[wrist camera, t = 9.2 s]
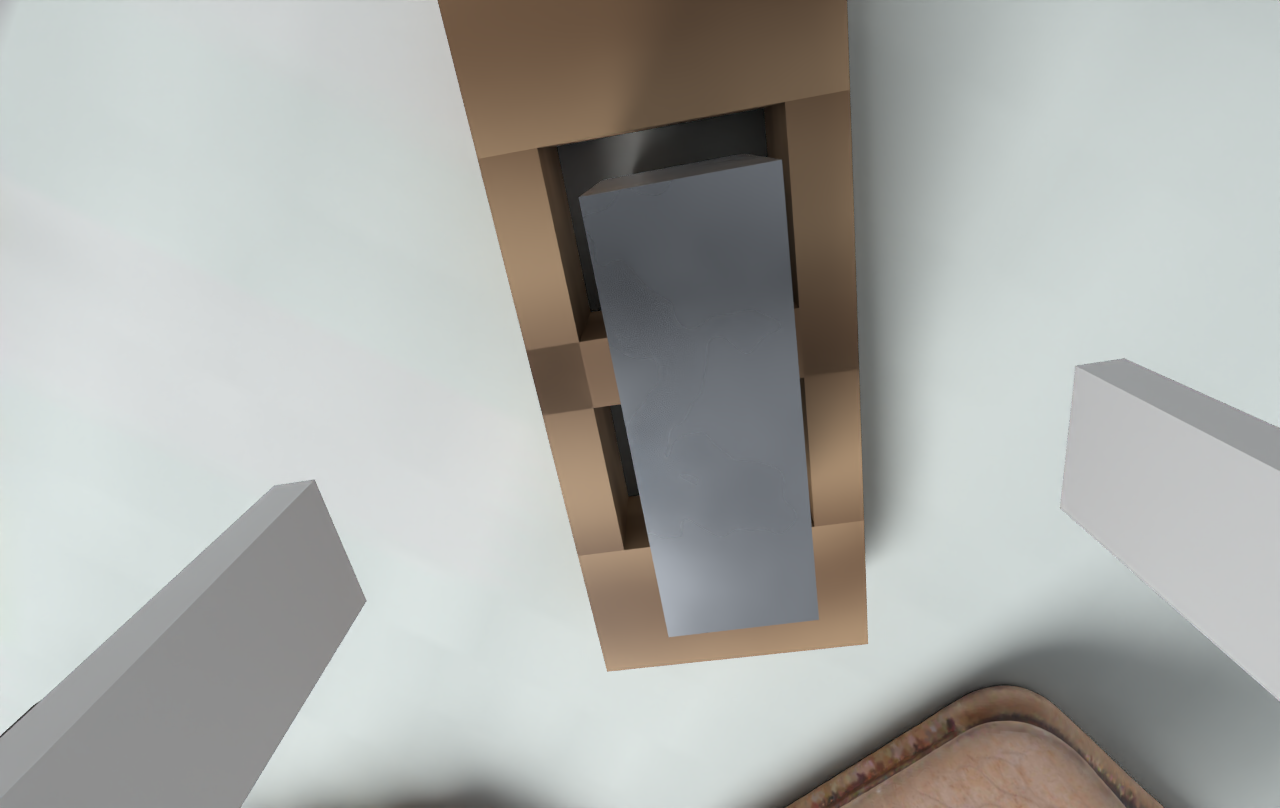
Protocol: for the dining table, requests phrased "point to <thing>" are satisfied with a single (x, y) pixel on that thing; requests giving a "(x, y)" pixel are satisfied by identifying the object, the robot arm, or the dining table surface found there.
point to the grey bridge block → (709, 385)
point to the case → (986, 762)
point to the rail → (576, 337)
